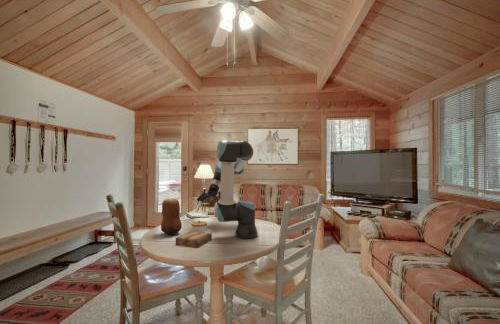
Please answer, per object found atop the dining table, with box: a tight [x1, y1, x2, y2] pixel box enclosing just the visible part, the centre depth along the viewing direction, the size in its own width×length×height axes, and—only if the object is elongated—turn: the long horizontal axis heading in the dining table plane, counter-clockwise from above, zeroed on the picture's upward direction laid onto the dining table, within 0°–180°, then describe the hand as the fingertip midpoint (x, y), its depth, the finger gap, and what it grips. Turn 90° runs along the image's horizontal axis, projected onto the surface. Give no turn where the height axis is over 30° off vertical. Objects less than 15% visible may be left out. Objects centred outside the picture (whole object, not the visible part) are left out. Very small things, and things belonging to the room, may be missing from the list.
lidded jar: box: [190, 220, 208, 233], centre depth 179 cm, size 11×11×9 cm
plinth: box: [175, 230, 213, 249], centre depth 162 cm, size 16×16×4 cm
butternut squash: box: [160, 198, 183, 236], centre depth 179 cm, size 14×13×25 cm
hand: (205, 210), depth 188 cm, fingers open, 13 cm apart
